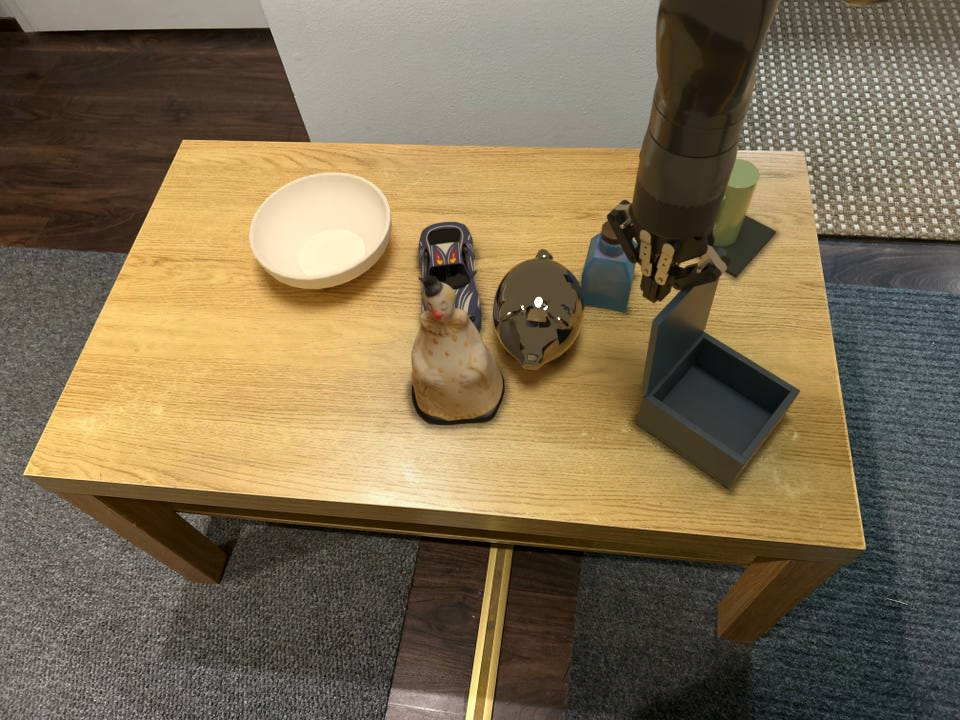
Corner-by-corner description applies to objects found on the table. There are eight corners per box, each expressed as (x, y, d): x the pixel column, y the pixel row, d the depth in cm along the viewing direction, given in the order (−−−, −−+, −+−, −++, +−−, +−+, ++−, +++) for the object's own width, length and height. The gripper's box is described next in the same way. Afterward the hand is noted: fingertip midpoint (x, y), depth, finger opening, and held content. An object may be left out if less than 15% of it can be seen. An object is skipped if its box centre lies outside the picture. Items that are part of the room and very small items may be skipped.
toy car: (425, 344, 90) (419, 322, 86) (419, 239, 100) (413, 215, 96) (484, 337, 90) (481, 315, 86) (472, 232, 100) (469, 208, 96)
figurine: (413, 429, 84) (380, 339, 67) (411, 357, 89) (380, 257, 72) (508, 419, 84) (500, 326, 67) (500, 347, 89) (491, 245, 72)
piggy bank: (486, 384, 86) (479, 333, 77) (504, 289, 94) (499, 232, 84) (575, 393, 85) (580, 343, 75) (586, 296, 92) (591, 239, 83)
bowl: (256, 315, 95) (237, 283, 89) (276, 211, 105) (260, 176, 99) (396, 307, 94) (386, 274, 88) (402, 202, 104) (394, 167, 98)
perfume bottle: (633, 275, 94) (644, 214, 83) (626, 312, 91) (636, 252, 80) (588, 268, 95) (594, 206, 85) (579, 304, 92) (584, 244, 82)
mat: (775, 233, 96) (776, 231, 95) (736, 277, 92) (736, 275, 92) (700, 194, 100) (701, 192, 100) (661, 235, 97) (661, 232, 97)
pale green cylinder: (745, 230, 96) (767, 170, 86) (718, 259, 93) (738, 201, 84) (713, 213, 98) (731, 152, 88) (686, 241, 95) (701, 182, 86)
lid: (727, 250, 69) (720, 247, 69) (659, 324, 65) (652, 320, 65) (705, 329, 80) (699, 325, 80) (646, 396, 76) (640, 392, 76)
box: (782, 418, 81) (801, 390, 75) (728, 489, 77) (743, 465, 71) (690, 360, 86) (701, 329, 80) (635, 423, 82) (642, 396, 76)
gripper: (778, 181, 56) (728, 305, 71) (644, 114, 61) (623, 243, 76) (728, 235, 54) (686, 352, 68) (592, 161, 59) (581, 285, 74)
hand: (653, 294), depth 72 cm, fingers closed
